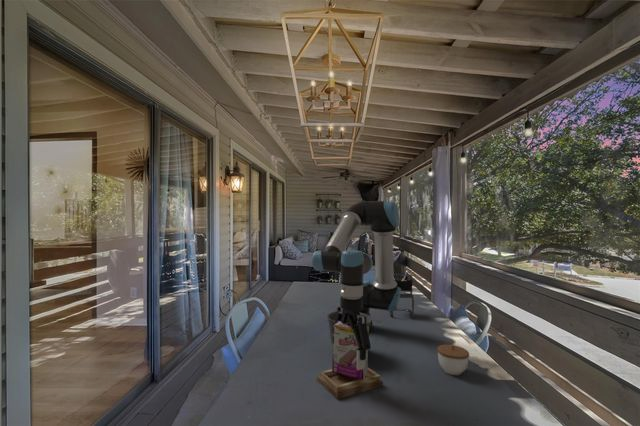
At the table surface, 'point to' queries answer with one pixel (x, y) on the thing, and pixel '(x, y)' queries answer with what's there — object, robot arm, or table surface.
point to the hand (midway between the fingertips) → (349, 361)
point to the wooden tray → (348, 383)
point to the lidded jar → (453, 359)
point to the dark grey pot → (332, 318)
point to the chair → (406, 287)
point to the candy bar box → (346, 352)
